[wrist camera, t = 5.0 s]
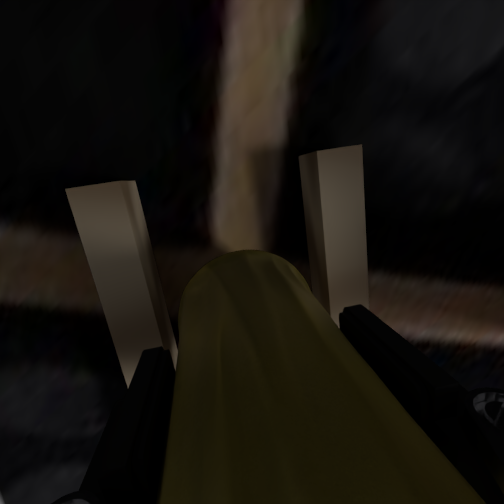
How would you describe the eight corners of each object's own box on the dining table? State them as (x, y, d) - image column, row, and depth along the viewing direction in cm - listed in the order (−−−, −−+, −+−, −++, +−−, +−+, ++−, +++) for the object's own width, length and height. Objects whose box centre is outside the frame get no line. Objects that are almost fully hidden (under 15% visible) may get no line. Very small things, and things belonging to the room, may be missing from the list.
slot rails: (91, 187, 13) (65, 188, 11) (336, 150, 14) (362, 144, 12) (185, 512, 19) (182, 560, 16) (357, 464, 20) (378, 503, 18)
